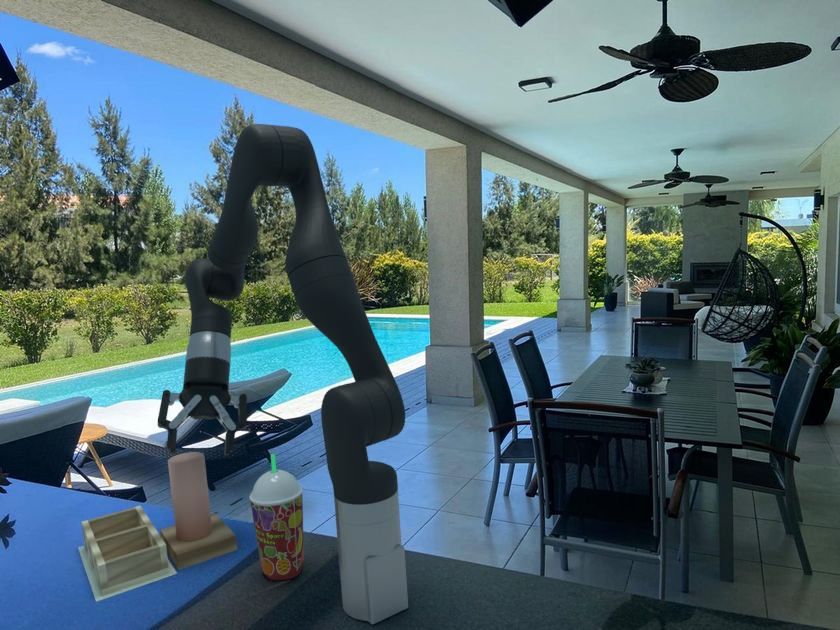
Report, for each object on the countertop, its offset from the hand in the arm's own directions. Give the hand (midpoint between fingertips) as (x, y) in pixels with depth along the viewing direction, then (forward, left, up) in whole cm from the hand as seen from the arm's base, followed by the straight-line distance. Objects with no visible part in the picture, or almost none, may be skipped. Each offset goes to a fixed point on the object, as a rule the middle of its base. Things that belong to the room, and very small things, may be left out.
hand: (200, 454), depth 102 cm
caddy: (+11, +12, -19) cm, 25 cm away
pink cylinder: (+7, +1, -16) cm, 18 cm away
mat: (+11, +12, -19) cm, 25 cm away
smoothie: (-11, -8, -20) cm, 24 cm away
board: (+7, 0, -19) cm, 21 cm away
